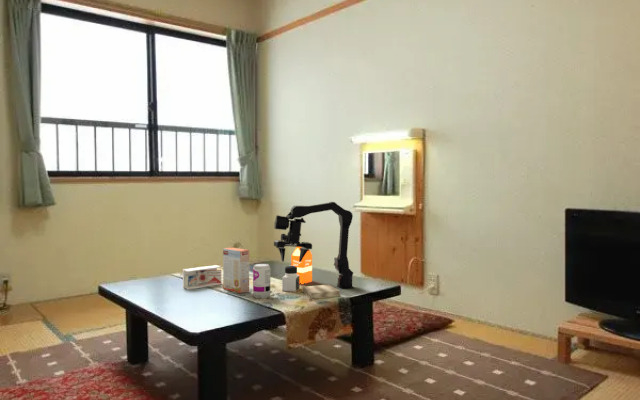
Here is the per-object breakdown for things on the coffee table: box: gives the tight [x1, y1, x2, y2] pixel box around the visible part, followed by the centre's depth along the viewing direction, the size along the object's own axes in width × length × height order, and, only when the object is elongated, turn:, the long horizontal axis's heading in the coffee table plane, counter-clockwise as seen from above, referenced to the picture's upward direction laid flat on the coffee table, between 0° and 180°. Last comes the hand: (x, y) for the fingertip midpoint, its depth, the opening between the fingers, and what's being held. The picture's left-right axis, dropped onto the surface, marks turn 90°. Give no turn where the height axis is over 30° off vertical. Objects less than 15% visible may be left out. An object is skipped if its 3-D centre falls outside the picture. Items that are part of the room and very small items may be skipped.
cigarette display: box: [182, 264, 222, 290], centre depth 256 cm, size 20×6×9 cm, turn 130°
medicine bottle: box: [281, 265, 301, 293], centre depth 247 cm, size 7×7×12 cm
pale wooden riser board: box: [301, 284, 341, 299], centre depth 239 cm, size 14×14×2 cm
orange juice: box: [290, 247, 313, 285], centre depth 266 cm, size 8×9×20 cm
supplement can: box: [252, 263, 271, 299], centre depth 234 cm, size 8×8×15 cm
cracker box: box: [222, 246, 250, 294], centre depth 245 cm, size 14×6×21 cm, turn 47°
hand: (291, 261), depth 246 cm, fingers open, 9 cm apart
